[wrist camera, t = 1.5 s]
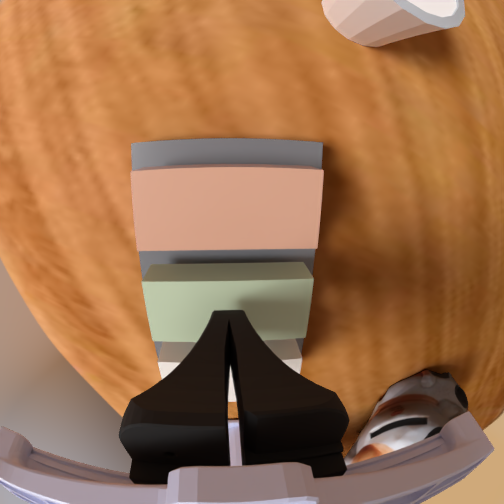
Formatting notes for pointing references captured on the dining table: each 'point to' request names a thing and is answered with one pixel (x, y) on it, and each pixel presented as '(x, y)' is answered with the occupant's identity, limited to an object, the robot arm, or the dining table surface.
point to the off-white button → (281, 348)
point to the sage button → (227, 298)
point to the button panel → (226, 154)
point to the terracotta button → (226, 207)
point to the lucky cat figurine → (409, 414)
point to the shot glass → (391, 18)
